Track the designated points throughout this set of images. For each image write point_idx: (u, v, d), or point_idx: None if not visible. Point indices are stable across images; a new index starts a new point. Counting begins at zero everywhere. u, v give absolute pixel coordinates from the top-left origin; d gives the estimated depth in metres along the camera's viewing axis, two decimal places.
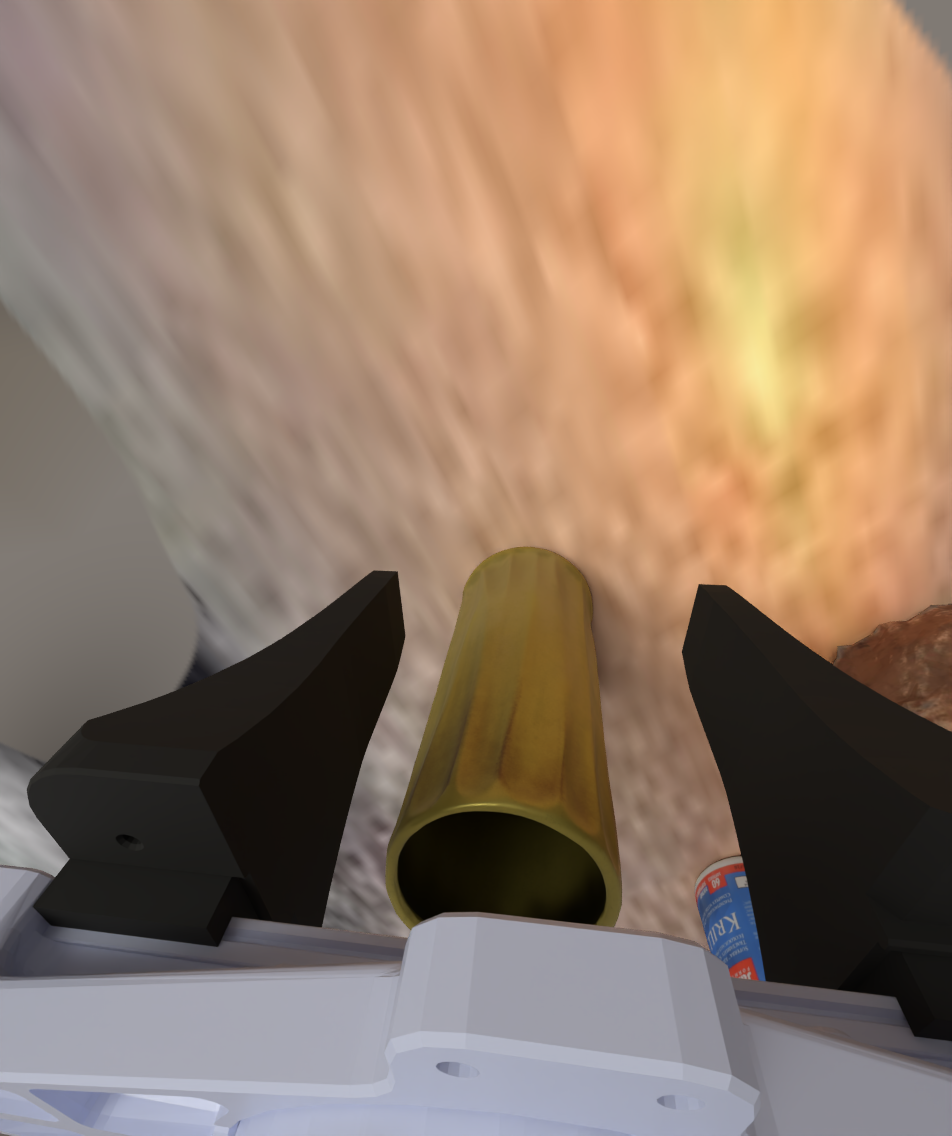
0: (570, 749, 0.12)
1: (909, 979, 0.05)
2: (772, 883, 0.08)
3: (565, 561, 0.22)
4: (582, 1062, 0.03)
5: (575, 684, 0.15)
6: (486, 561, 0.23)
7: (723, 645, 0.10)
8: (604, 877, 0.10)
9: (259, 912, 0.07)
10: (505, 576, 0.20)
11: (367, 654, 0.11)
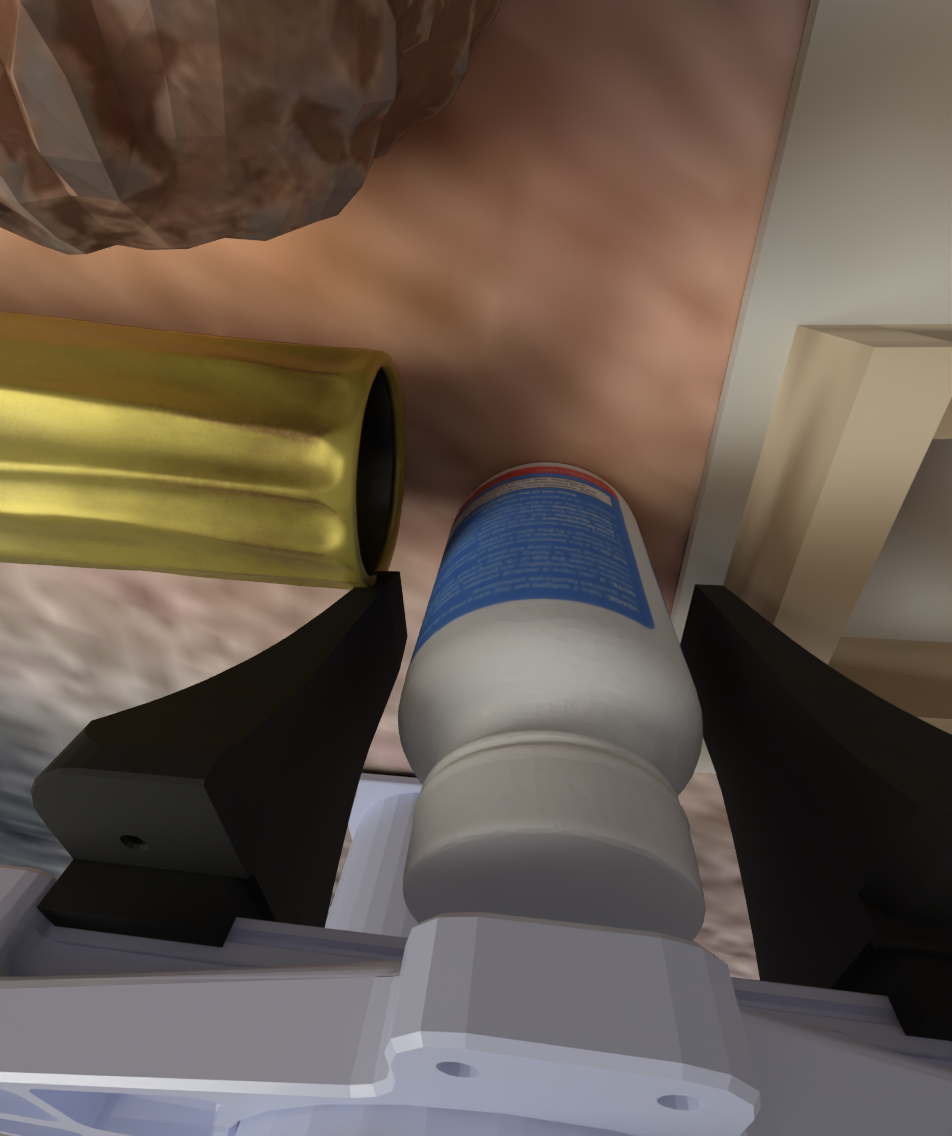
0: (251, 358, 0.10)
1: (901, 978, 0.05)
2: (767, 882, 0.08)
3: None
4: (582, 1062, 0.03)
5: (106, 335, 0.10)
6: None
7: (719, 645, 0.10)
8: (387, 366, 0.11)
9: (263, 913, 0.07)
10: None
11: (369, 654, 0.11)
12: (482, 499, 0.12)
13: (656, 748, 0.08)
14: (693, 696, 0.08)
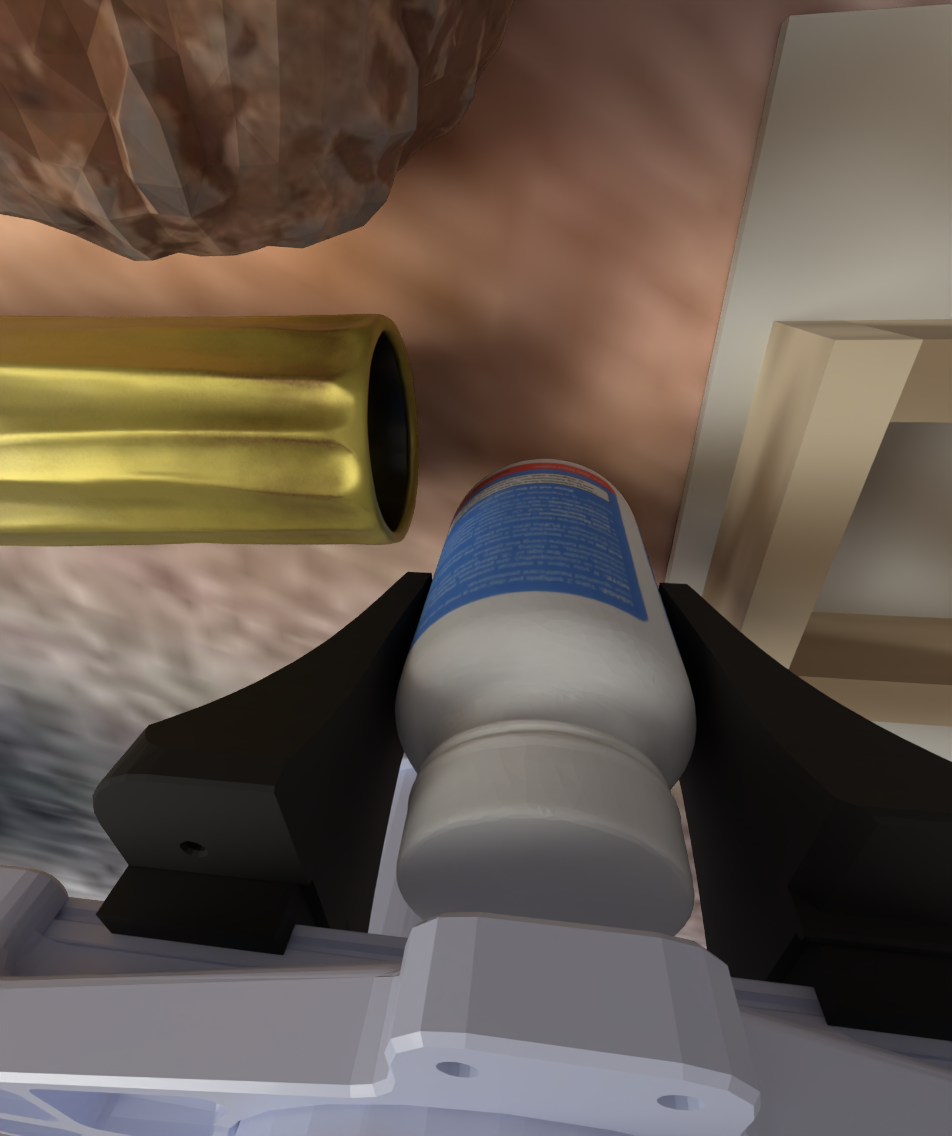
0: (270, 327, 0.11)
1: (825, 969, 0.06)
2: (716, 877, 0.08)
3: None
4: (582, 1063, 0.03)
5: (144, 322, 0.11)
6: None
7: (679, 642, 0.10)
8: (392, 332, 0.12)
9: (317, 919, 0.07)
10: None
11: (406, 656, 0.10)
12: (481, 495, 0.13)
13: (648, 739, 0.08)
14: (686, 688, 0.08)
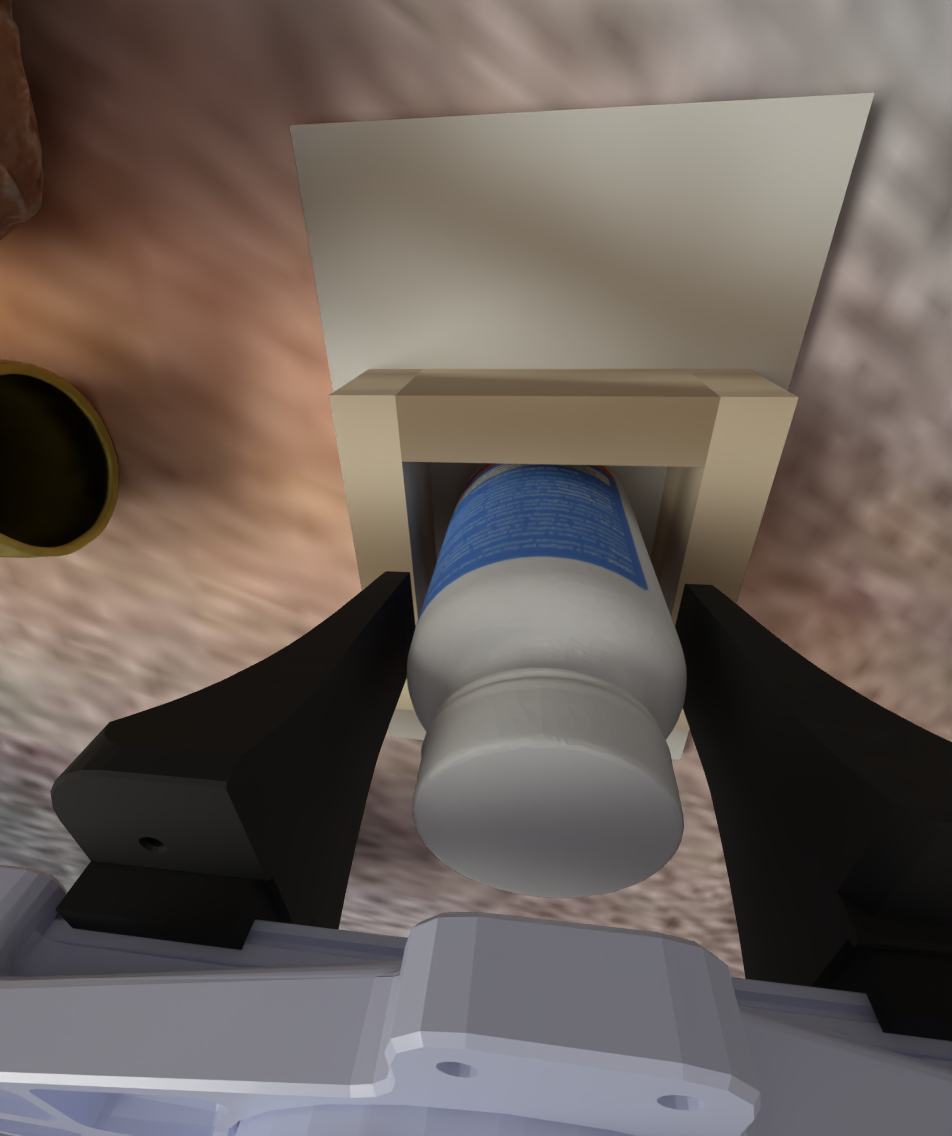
0: None
1: (879, 975, 0.06)
2: (752, 881, 0.08)
3: None
4: (582, 1062, 0.03)
5: None
6: None
7: (707, 644, 0.10)
8: (35, 374, 0.14)
9: (280, 915, 0.07)
10: None
11: (381, 655, 0.11)
12: (489, 474, 0.13)
13: (644, 696, 0.09)
14: (680, 651, 0.09)
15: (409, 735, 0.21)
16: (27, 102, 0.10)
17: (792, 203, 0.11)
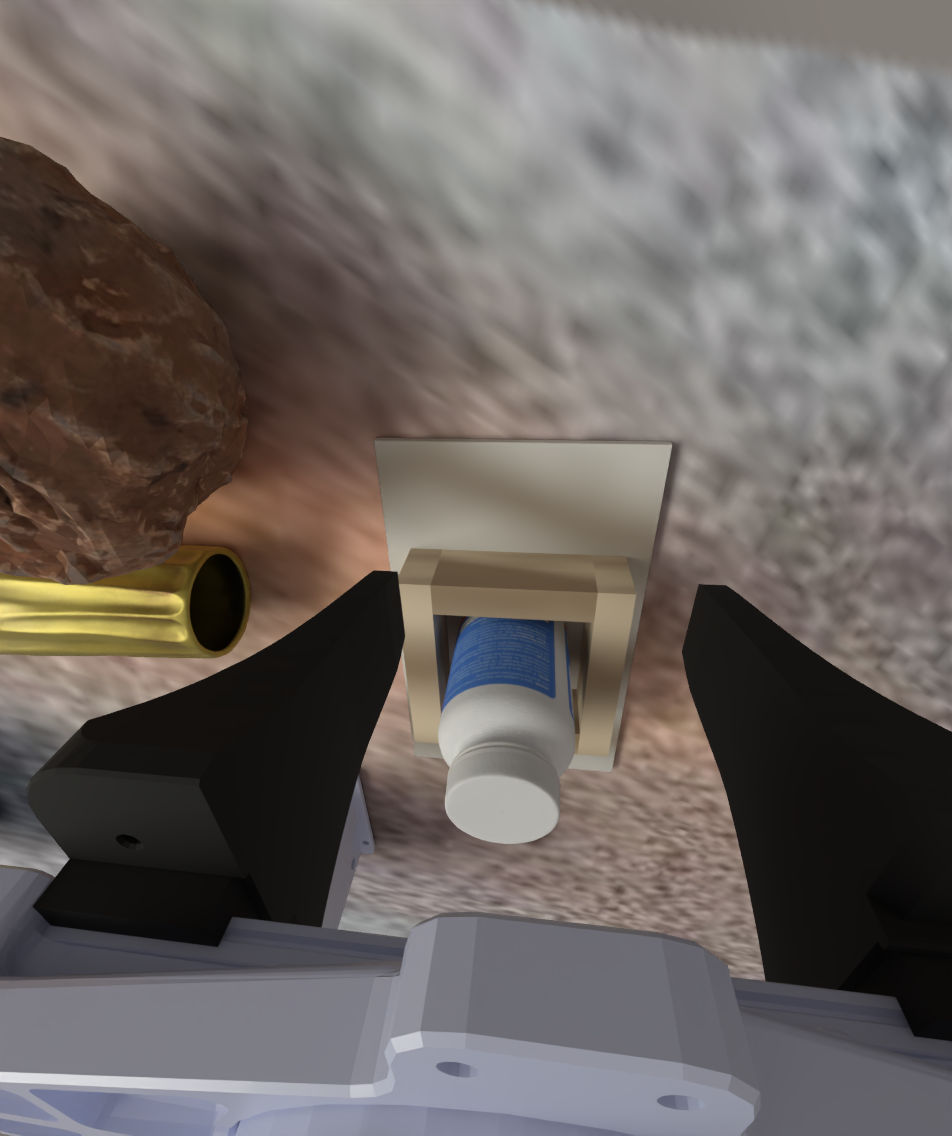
0: None
1: (909, 979, 0.05)
2: (772, 883, 0.08)
3: None
4: (582, 1062, 0.03)
5: None
6: None
7: (723, 645, 0.10)
8: (218, 553, 0.23)
9: (259, 912, 0.07)
10: None
11: (367, 654, 0.11)
12: None
13: (550, 750, 0.18)
14: (569, 728, 0.19)
15: (428, 755, 0.31)
16: (243, 443, 0.20)
17: (639, 485, 0.21)
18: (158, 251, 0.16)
